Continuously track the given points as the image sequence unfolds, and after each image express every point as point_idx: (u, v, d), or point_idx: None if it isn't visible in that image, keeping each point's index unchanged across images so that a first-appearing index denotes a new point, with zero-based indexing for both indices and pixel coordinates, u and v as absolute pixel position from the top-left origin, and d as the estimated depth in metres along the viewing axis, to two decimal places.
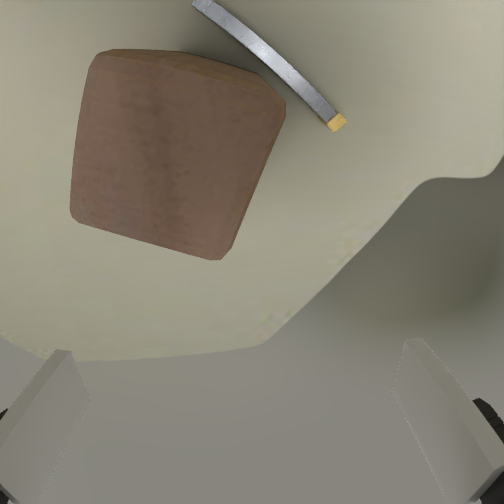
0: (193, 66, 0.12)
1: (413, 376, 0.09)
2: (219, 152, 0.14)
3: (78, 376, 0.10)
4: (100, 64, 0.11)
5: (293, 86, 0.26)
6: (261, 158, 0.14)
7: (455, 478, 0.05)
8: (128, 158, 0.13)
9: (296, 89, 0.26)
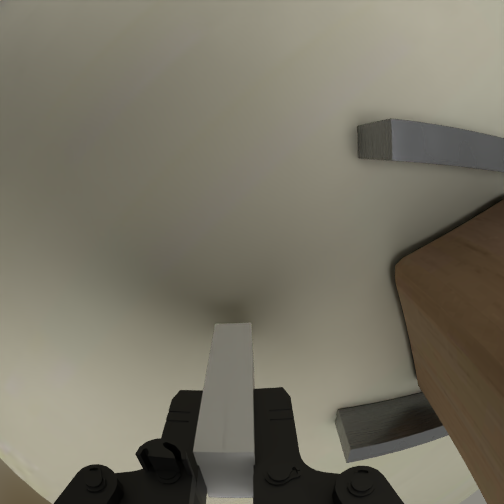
0: None
1: None
2: None
3: None
4: None
5: None
6: None
7: None
8: None
9: None
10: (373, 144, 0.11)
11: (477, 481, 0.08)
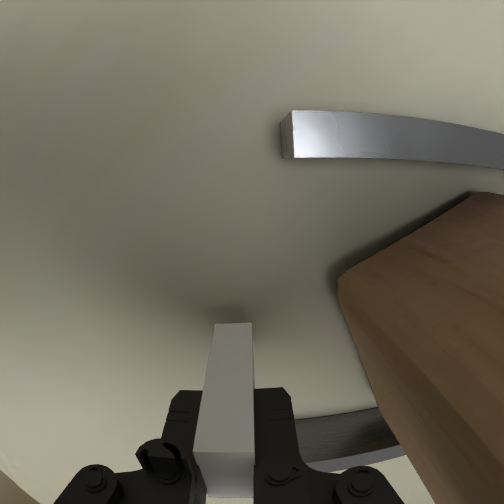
0: None
1: None
2: None
3: None
4: None
5: None
6: None
7: None
8: None
9: None
10: (286, 141, 0.11)
11: None
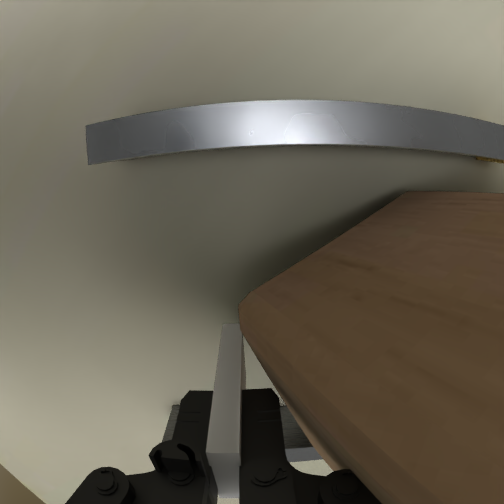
0: None
1: None
2: None
3: (242, 348, 0.13)
4: None
5: (439, 145, 0.09)
6: None
7: None
8: None
9: (447, 146, 0.09)
10: None
11: None
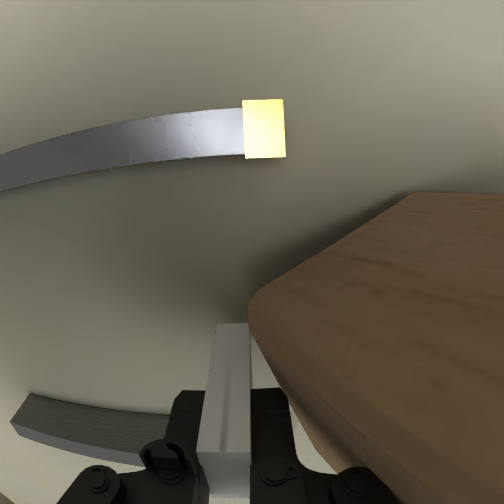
0: None
1: None
2: None
3: None
4: None
5: (101, 163, 0.09)
6: None
7: None
8: None
9: (112, 162, 0.09)
10: None
11: None
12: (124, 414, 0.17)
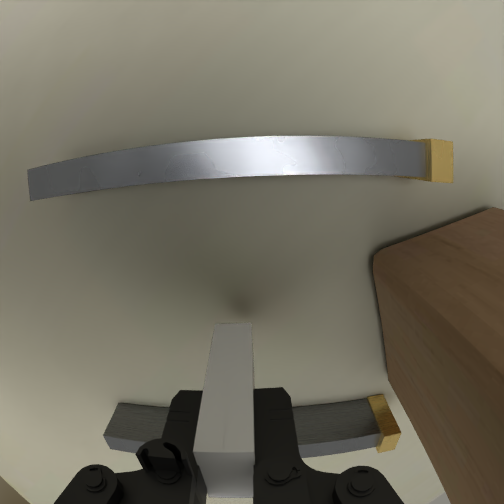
0: None
1: None
2: None
3: None
4: None
5: (316, 169, 0.11)
6: None
7: None
8: None
9: (326, 169, 0.11)
10: None
11: (440, 475, 0.09)
12: None
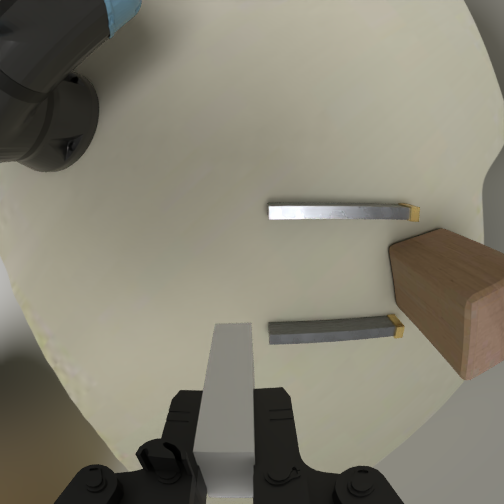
0: None
1: None
2: None
3: None
4: (477, 305, 0.21)
5: (375, 217, 0.35)
6: None
7: None
8: (494, 335, 0.21)
9: (378, 217, 0.35)
10: (268, 212, 0.37)
11: (421, 328, 0.33)
12: (331, 320, 0.42)
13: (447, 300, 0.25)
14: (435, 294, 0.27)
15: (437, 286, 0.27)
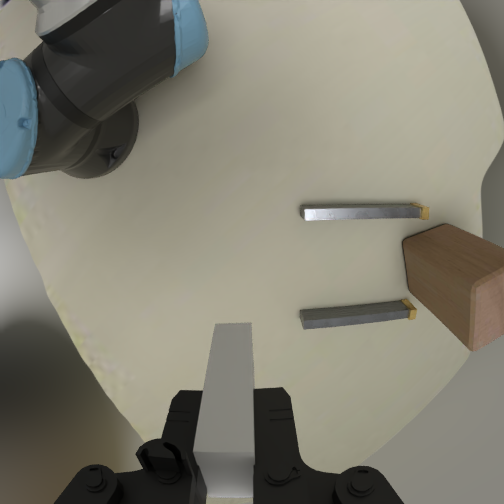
0: (501, 268, 0.26)
1: None
2: None
3: None
4: (480, 289, 0.26)
5: (392, 217, 0.41)
6: None
7: None
8: (494, 313, 0.27)
9: (395, 217, 0.41)
10: (302, 213, 0.42)
11: (433, 310, 0.39)
12: (354, 306, 0.48)
13: (456, 286, 0.30)
14: (445, 281, 0.33)
15: (447, 274, 0.32)
